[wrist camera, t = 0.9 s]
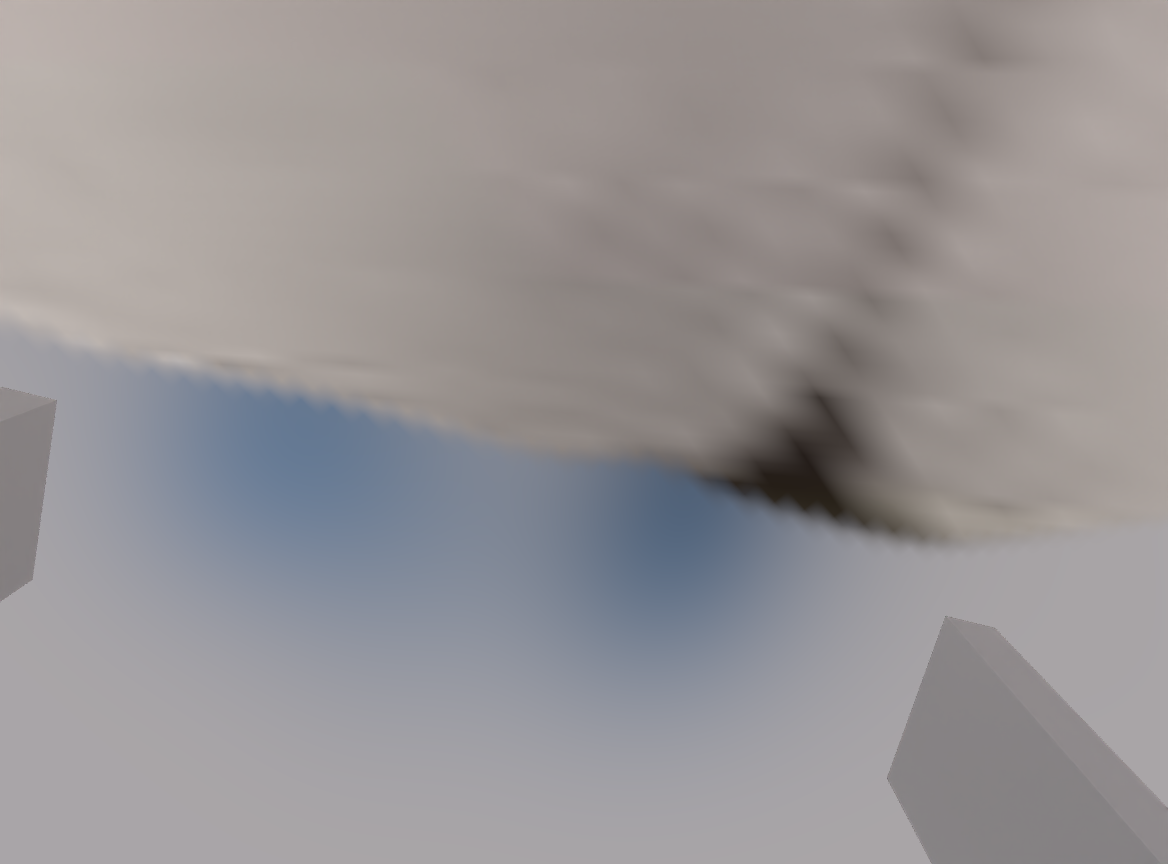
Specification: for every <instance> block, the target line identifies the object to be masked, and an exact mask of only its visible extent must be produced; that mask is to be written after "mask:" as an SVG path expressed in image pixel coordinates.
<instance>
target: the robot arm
mask: <svg viewBox="0 0 1168 864" xmlns="http://www.w3.org/2000/svg"><path fill="white" fill-rule="evenodd" d="M56 403H57V400H53V399H49V398H45V397H41V396H37V395H32V394H29V393H25V392H21V391H16V390H12V389H8V388H4V387H1V388H0V601H2V600H3V599H5V598H6V597H8V596H9V595H11V594H12V593H13V592H15V591H16V590H18V589H19V588H21V587H22V586H24V585H25V584H27V583H28V582H29V581H31V580H32V578H33V570H34V564H35V557H36V550H37V542H38V535H39V527H40V520H41V512H42V505H43V498H44V491H45V484H46V476H47V469H48V461H49V454H50V447H51V439H52V432H53V425H54V418H55V410H56ZM887 779H888V781H889V783H890V785H891V787H892V789H893V791H894V793H895V794H896V796H897V798H898V800H899V802H900V804H901V806H902V808H903V810H904V812H905V813H906V815H907V817H908V819H909V821H910V823H911V825H912V827H913V829H914V831H915V832H916V835H917V837H918V838H919V840H920V842H921V844H922V846H923V848H924V850H925V852H926V854H927V856H928V857H929V859H930V861H931V863H932V864H1168V808H1167V807H1166V806H1165V805H1164V804H1163V803H1162V802H1161V801H1160V799H1159V798H1158V797H1156V795H1155V794H1154V793H1153V792H1152V791H1151V790H1150V789H1149V788H1148V787H1147V786H1146V785H1145V784H1144V783H1143V782H1142V781H1141V780H1140V779H1139V778H1138V777H1137V776H1136V774H1135V773H1134V772H1132V770H1131V769H1130V768H1129V767H1128V766H1127V765H1126V764H1125V763H1124V762H1123V761H1122V760H1121V759H1120V758H1119V757H1118V756H1117V755H1116V754H1115V753H1114V752H1113V751H1112V750H1111V749H1110V747H1108V745H1107V744H1106V743H1105V742H1104V741H1103V740H1102V739H1101V738H1100V737H1099V736H1098V735H1097V734H1096V733H1095V732H1094V731H1093V730H1092V729H1091V728H1090V727H1089V726H1088V725H1087V723H1086V722H1085V721H1084V720H1083V719H1082V718H1081V717H1080V716H1079V715H1078V714H1077V713H1076V712H1075V711H1074V710H1073V709H1072V708H1071V707H1070V706H1069V705H1068V704H1067V703H1066V702H1065V701H1064V700H1063V699H1062V697H1061V696H1060V695H1058V693H1057V692H1056V691H1055V690H1054V689H1053V688H1052V687H1051V686H1050V685H1049V684H1048V683H1047V682H1046V681H1045V680H1044V679H1043V678H1042V677H1041V676H1040V674H1039V673H1038V672H1037V671H1036V670H1035V669H1034V668H1033V667H1032V666H1031V665H1030V664H1029V663H1028V662H1027V661H1026V660H1025V659H1024V658H1023V657H1022V656H1021V655H1020V654H1019V653H1018V652H1017V651H1016V649H1014V648H1013V646H1011V644H1010V643H1009V642H1008V641H1007V640H1006V639H1005V638H1004V637H1003V636H1002V635H1001V634H1000V633H999V632H998V631H997V630H996V629H995V628H993V627H989V626H985V625H981V624H977V623H972V622H968V621H964V620H960V619H956V618H952V617H948V616H945V619H944V622H943V625H942V628H941V630H940V633H939V636H938V638H937V641H936V644H935V647H934V650H933V652H932V655H931V658H930V661H929V663H928V666H927V669H926V672H925V675H924V677H923V680H922V683H921V685H920V688H919V691H918V694H917V696H916V699H915V702H914V705H913V708H912V710H911V713H910V716H909V719H908V722H907V724H906V727H905V730H904V732H903V736H902V738H901V741H900V743H899V746H898V749H897V752H896V754H895V757H894V760H893V763H892V766H891V768H890V771H889V774H888V777H887Z"/></svg>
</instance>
